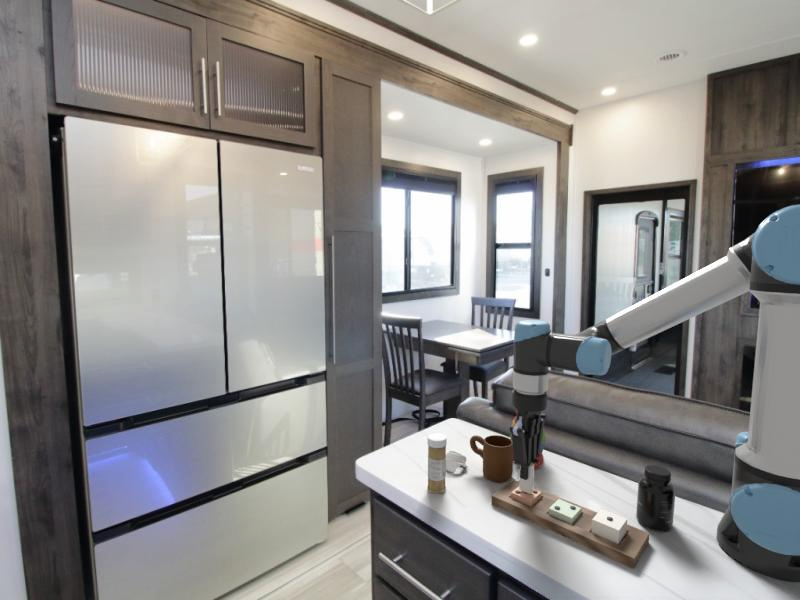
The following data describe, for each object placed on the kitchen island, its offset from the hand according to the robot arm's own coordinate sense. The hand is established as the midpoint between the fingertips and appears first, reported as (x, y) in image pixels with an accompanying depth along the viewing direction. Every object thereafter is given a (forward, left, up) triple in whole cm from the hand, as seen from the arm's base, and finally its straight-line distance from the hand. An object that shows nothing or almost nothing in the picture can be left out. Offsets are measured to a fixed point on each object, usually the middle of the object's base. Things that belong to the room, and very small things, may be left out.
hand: (526, 490), depth 99 cm
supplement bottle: (-23, -13, -4) cm, 27 cm away
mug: (+14, -7, -4) cm, 16 cm away
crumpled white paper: (+23, -4, -4) cm, 24 cm away
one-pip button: (-18, 0, -2) cm, 18 cm away
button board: (-9, 0, -4) cm, 10 cm away
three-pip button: (0, 0, -4) cm, 4 cm away
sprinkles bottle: (+19, +9, -4) cm, 21 cm away
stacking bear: (+11, -21, -4) cm, 24 cm away
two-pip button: (-9, 0, -4) cm, 10 cm away
